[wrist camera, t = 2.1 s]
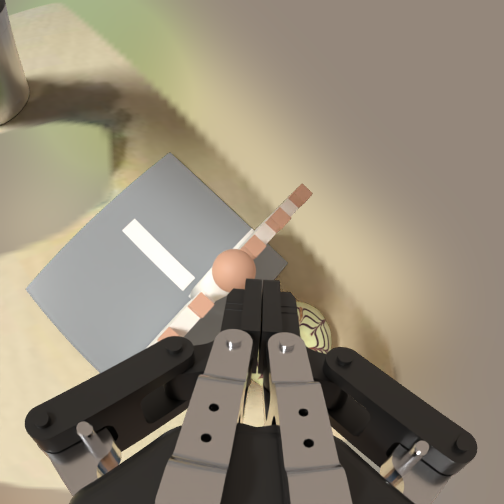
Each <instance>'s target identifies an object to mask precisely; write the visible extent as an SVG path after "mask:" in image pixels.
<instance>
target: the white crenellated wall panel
mask: <svg viewBox="0 0 504 504" xmlns="http://www.w3.org/2000/svg"><path fill="white" fill-rule="evenodd" d="M214 303H215V301H214V300H213V299H212V298H211V297H210V296H209V295H208V294H207V293H206V292H204V291H203V290H202V291H201V292H200V293H198V294H197V295H196V296H195V297H194V298H193V299H191V300H190V301H189V302H188V303H187V304H186V305H185V306H184V307H183V308H182V309H181V310H180V311H179V312H178V314H177V315H176V316H175V317H174V318H173V319H172V320H171V321H170V322H169V323H168V324H167V326H166V327H165V328H164V329H163V330H162V331H161V332H160V333H159V334H158V335H157V337H156V338H155V339H154V340H153V341H152V342H151V343H150V344H149V345H148V346H147V348H148V347H150V346H151V345H153V344H155V343H157V342H159V341H160V340H162V339H164V338H166V337H170V336H181V337H184V336H185V335H186V334H187V333H188V332H189V330H190V329H191V328H192V327H193V326H194V325H195V324H196V323H197V322H198V320H199V319H200V318H203V317H204V316H205V315H206V314H207V313H208V311H209V310H210V309H211V308H212V307H213V306H214V305H215V304H214Z"/></svg>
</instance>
